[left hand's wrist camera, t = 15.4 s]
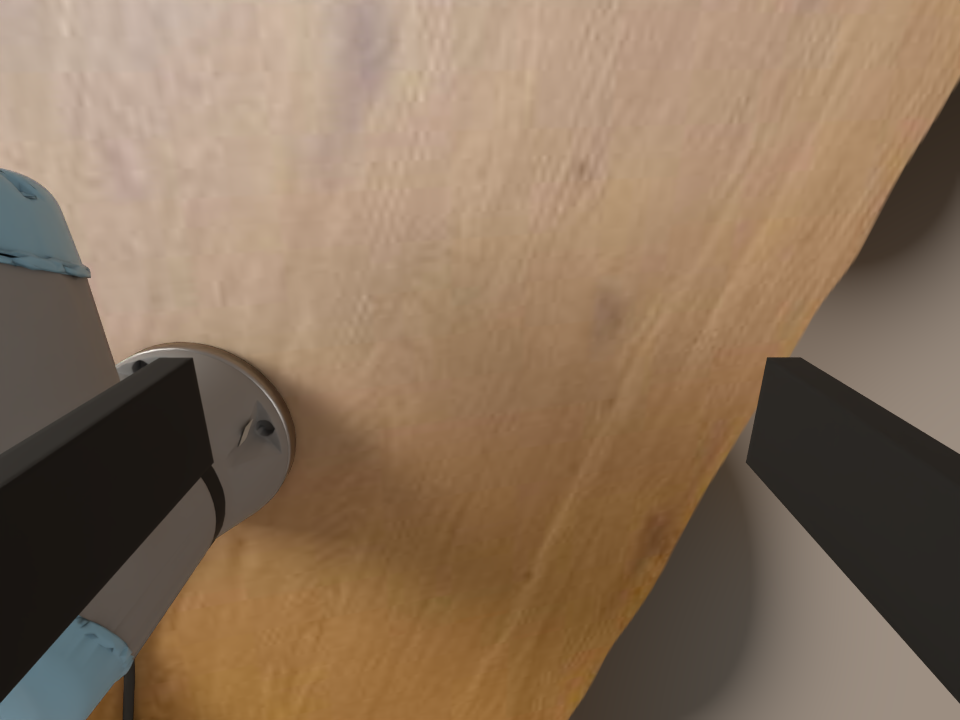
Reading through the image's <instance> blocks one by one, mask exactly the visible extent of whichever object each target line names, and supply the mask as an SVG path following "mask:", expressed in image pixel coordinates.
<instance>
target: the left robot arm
mask: <svg viewBox="0 0 960 720" xmlns="http://www.w3.org/2000/svg"><path fill="white" fill-rule="evenodd" d="M87 278H91V273H90V270H89V268H88V267H86V266H84V265H83V264H82V262H81V259H80V257H79V254H78V252H77V249H76V246H75V244H74V241H73V239H72V236H71V234H70V231H69V228H68V226H67V223H66V221H65V218H64V216H63V213H62V211H61V208H60V206H59V204H58V203H57V201H56V200H55V198H54V197H53V196H52V194H51V193H50V192H49V191H48V190H47V189H46V188H44V187H43V186H42V185H40V184H39V183H37V182H36V181H34V180H32V179H31V178H29V177H27V176H25V175H22V174H19V173H17V172H13V171H10V170H6V169H2V168H0V720H86V719H87V718H88V716H89V715H90V714H91V712H92V711H93V710H94V709H95V707H96V706H97V705H98V703H99V702H100V701H101V700H102V698H103V697H104V696H105V694H106V693H107V692H108V691H109V689H110V688H111V687H112V685H113V684H114V683H115V682H116V681H118V680H119V679H120V678H121V677H123V676H124V693H123V720H133V710H134V686H135V662H134V659H135V657H136V656H137V654H138V653H139V651H140V650H141V648H142V647H143V645H144V644H145V642H146V641H147V639H148V638H149V636H150V635H151V633H152V632H153V631H154V629H155V628H156V626H157V625H158V623H159V622H160V620H161V619H162V617H163V616H164V614H165V613H166V611H167V610H168V608H169V607H170V605H171V604H172V602H173V601H174V599H175V598H176V597H177V595H178V594H179V592H180V591H181V589H182V588H183V586H184V585H185V583H186V582H187V580H188V579H189V577H190V576H191V574H192V573H193V571H194V570H195V568H196V567H197V565H198V564H199V563H200V561H201V560H202V558H203V557H204V555H205V554H206V552H207V550H208V549H209V548H210V546H211V545H212V543H213V542H214V541H215V539H216V538H217V537H219V536H220V535H222V534H224V533H225V532H227V531H228V530H230V529H231V528H233V527H234V526H236V525H237V524H239V523H240V522H242V521H243V520H245V519H246V518H248V517H250V516H251V515H253V514H254V513H256V512H257V511H258V510H260V509H261V508H262V507H263V506H264V505H265V504H266V503H268V502H269V501H270V500H271V499H272V498H273V497H274V495H275V494H276V493H277V491H278V490H279V488H280V487H281V485H282V483H283V482H284V480H285V479H286V477H287V475H288V473H289V471H290V469H291V467H292V464H293V460H294V456H295V447H296V438H295V430H294V425H293V421H292V418H291V415H290V413H289V410H288V408H287V406H286V404H285V402H284V400H283V399H282V397H281V396H280V394H279V393H278V391H277V390H276V389H275V387H274V386H273V385H272V384H271V383H270V382H269V380H268V379H267V378H266V377H264V376H263V375H262V374H261V373H260V372H259V371H258V370H256V369H255V368H254V367H253V366H251V365H250V364H248V363H247V362H245V361H244V360H242V359H240V358H238V357H237V356H235V355H233V354H230V353H228V352H226V351H224V350H221V349H218V348H215V347H211V346H207V345H203V344H197V343H187V342H174V343H165V344H160V345H155V346H152V347H149V348H146V349H144V350H142V351H140V352H137V353H136V354H134V355H132V356H130V357H128V358H127V359H125V360H123V361H122V362H120V363H118V364H117V365H116V366H115V363H114V360H113V357H112V354H111V351H110V348H109V345H108V342H107V338H106V335H105V332H104V329H103V326H102V323H101V320H100V317H99V314H98V311H97V308H96V304H95V301H94V298H93V295H92V292H91V289H90V286H89V283H88V279H87ZM746 463H747V464H748V465H749V466H750V467H751V469H752V470H753V471H754V472H755V473H756V474H757V475H758V476H759V478H760V479H761V480H762V481H763V482H764V483H765V484H766V486H767V487H768V488H769V489H770V490H771V491H772V492H773V493H774V494H775V496H776V497H777V498H778V499H779V500H780V501H781V502H782V504H783V505H784V506H785V507H786V508H787V509H788V510H789V511H790V513H791V514H792V515H793V516H794V517H795V518H796V519H797V520H798V522H799V523H800V524H801V525H802V526H803V527H804V528H805V529H806V531H807V532H808V533H809V534H810V535H811V536H812V537H813V539H814V540H815V541H816V542H817V543H818V544H819V545H820V546H821V548H822V549H823V550H824V551H825V552H826V553H827V554H828V555H829V557H830V558H831V559H832V560H833V561H834V562H835V563H836V564H837V566H838V567H839V568H840V569H841V570H842V571H843V572H844V573H845V575H846V576H847V577H848V578H849V579H850V580H851V581H852V583H853V584H854V585H855V586H856V587H857V588H858V589H859V590H860V592H861V593H862V594H863V595H864V596H865V597H866V598H867V599H868V601H869V602H870V603H871V604H872V605H873V606H874V607H875V608H876V610H877V611H878V612H879V613H880V614H881V615H882V616H883V617H884V619H885V620H886V621H887V622H888V623H889V624H890V625H891V626H892V628H893V629H894V630H895V631H896V632H897V633H898V634H899V635H900V637H901V638H902V639H903V640H904V641H905V642H906V643H907V644H908V646H909V647H910V648H911V649H912V650H913V651H914V652H915V654H916V655H917V656H918V657H919V658H920V659H921V660H922V661H923V663H924V664H925V665H926V666H927V667H928V668H929V669H930V670H931V672H932V673H933V674H934V675H935V676H936V677H937V678H938V679H939V681H940V682H941V683H942V684H943V685H944V686H945V687H946V688H947V690H948V691H949V692H950V693H951V694H952V695H953V696H954V698H955V699H956V700H957V701H958V702H959V703H960V454H958V453H957V452H955V451H954V450H952V449H950V448H949V447H947V446H945V445H944V444H942V443H940V442H939V441H937V440H935V439H934V438H932V437H931V436H929V435H927V434H926V433H924V432H922V431H921V430H919V429H917V428H916V427H914V426H912V425H911V424H909V423H907V422H906V421H904V420H903V419H901V418H899V417H898V416H896V415H894V414H893V413H891V412H889V411H888V410H886V409H884V408H883V407H881V406H880V405H878V404H876V403H875V402H873V401H871V400H870V399H868V398H866V397H865V396H863V395H861V394H860V393H858V392H857V391H855V390H853V389H852V388H850V387H848V386H847V385H845V384H843V383H842V382H840V381H838V380H837V379H835V378H833V377H832V376H830V375H829V374H827V373H825V372H824V371H822V370H820V369H819V368H817V367H815V366H814V365H812V364H810V363H809V362H807V361H806V360H804V359H802V358H767V361H766V366H765V371H764V375H763V380H762V385H761V390H760V395H759V400H758V405H757V410H756V415H755V420H754V425H753V430H752V435H751V440H750V445H749V450H748V455H747V460H746Z"/></svg>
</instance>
